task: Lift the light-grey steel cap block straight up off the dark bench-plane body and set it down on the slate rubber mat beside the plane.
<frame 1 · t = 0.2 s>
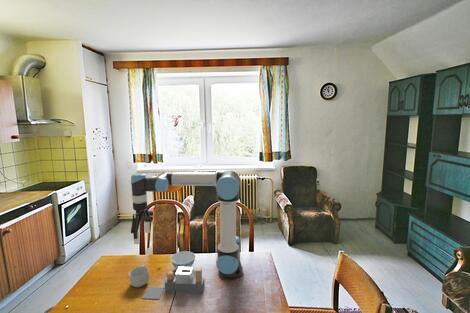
hand: (142, 237, 144), 28 cm above the table, fingers open, 13 cm apart
chinaware: (183, 268, 162), on the table
mat: (153, 293, 139), on the table
teacup: (141, 282, 149), on the table
cap: (184, 280, 142), point 5 cm above the table, touching plane
plane: (184, 288, 143), on the table
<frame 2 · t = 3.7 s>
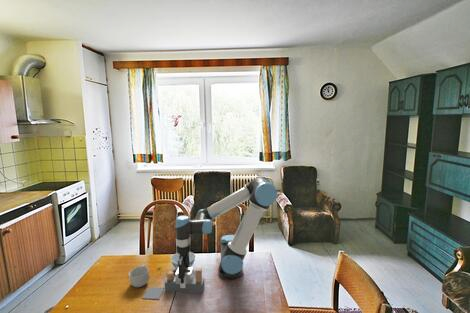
hand: (184, 283, 143), 3 cm above the table, fingers closed on cap, 6 cm apart
cap: (184, 280, 142), point 5 cm above the table, touching gripper, plane
everything else where it was.
when the fingers open (1 cm above the table, at t = 9.0 s): cap drops 3 cm, resting on mat.
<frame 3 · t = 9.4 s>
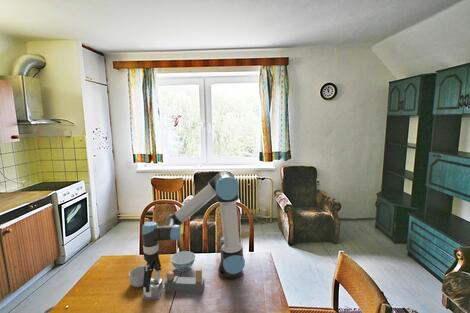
hand: (153, 288, 139), 3 cm above the table, fingers open, 11 cm apart
cap: (153, 292, 139), resting on mat
everything else where it was.
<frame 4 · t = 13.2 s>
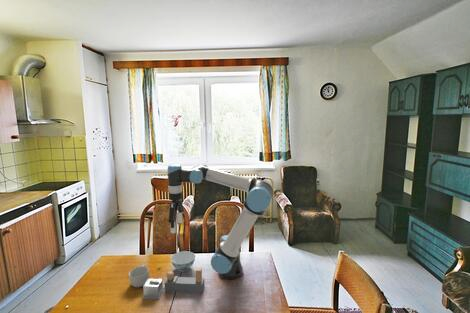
hand: (176, 227, 148), 32 cm above the table, fingers open, 13 cm apart
nothing on the table moved.
at the end: cap inside the target area on the mat (0.0 cm from its centre), point 0.4 cm above the mat's base; cap tilted 0°; cap touching mat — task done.
